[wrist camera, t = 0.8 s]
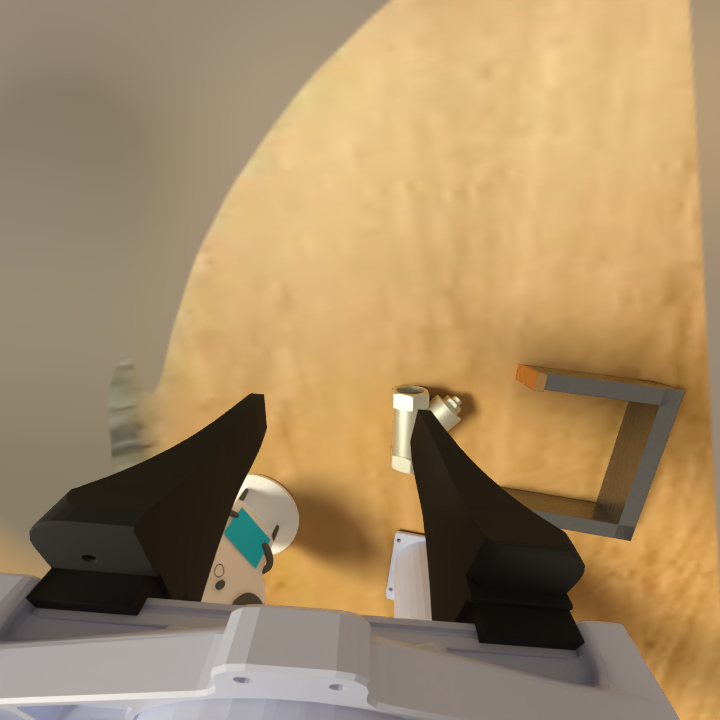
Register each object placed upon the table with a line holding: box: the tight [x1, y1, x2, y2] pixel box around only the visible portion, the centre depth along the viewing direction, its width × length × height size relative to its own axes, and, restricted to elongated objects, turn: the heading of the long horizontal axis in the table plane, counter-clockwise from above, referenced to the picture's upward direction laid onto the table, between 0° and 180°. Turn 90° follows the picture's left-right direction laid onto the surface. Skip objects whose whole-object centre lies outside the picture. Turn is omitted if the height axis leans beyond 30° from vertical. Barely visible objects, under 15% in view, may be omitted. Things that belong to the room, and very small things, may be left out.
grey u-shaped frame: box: [501, 365, 685, 541], centre depth 27 cm, size 15×12×4 cm
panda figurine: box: [201, 473, 299, 605], centre depth 28 cm, size 12×11×15 cm
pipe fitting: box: [391, 385, 462, 474], centre depth 29 cm, size 8×4×7 cm
